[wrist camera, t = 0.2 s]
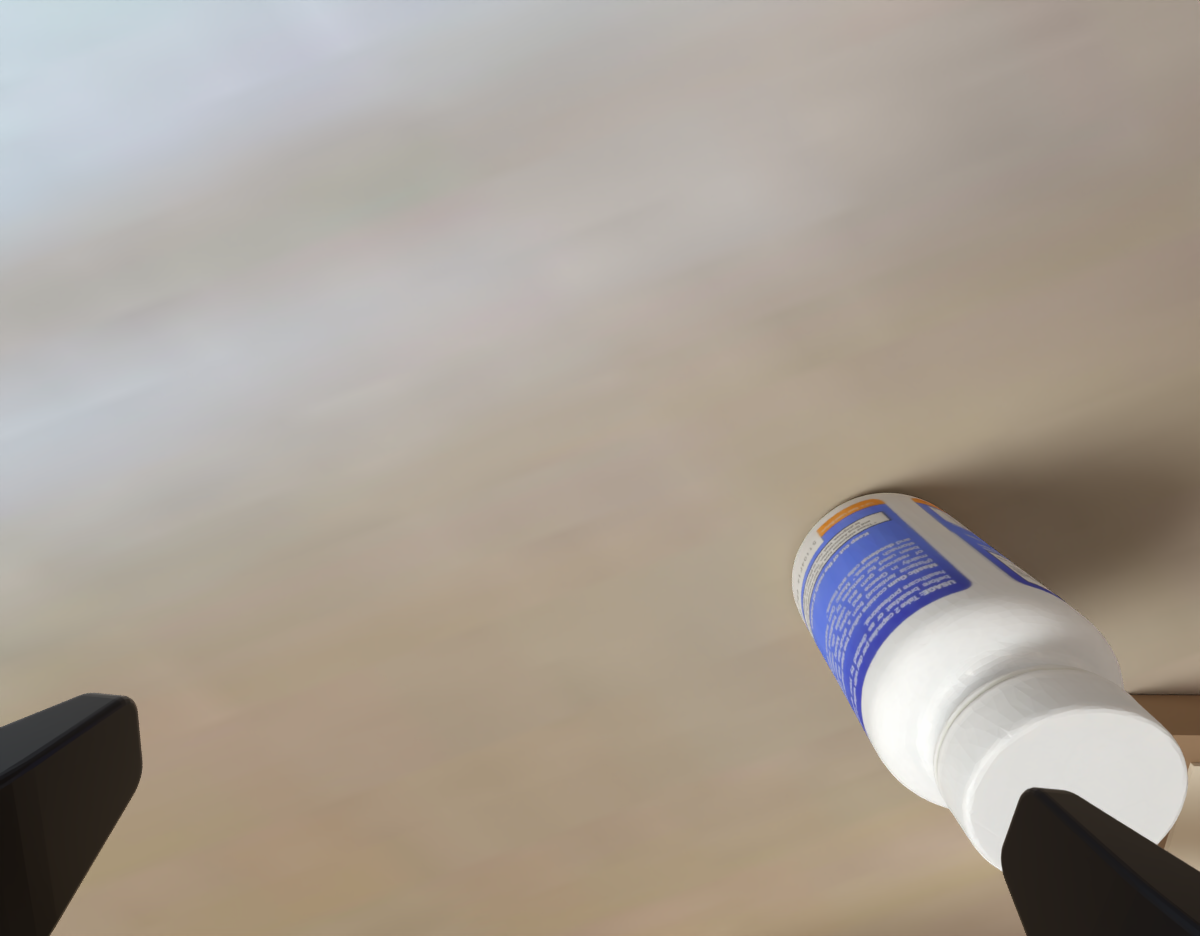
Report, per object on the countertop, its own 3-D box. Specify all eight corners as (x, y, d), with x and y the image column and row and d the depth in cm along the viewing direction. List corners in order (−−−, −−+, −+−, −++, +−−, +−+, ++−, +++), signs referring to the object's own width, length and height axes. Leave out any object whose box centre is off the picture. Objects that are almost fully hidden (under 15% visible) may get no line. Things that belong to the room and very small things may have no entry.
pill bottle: (784, 647, 23) (908, 924, 14) (791, 489, 21) (937, 681, 12) (954, 642, 23) (1196, 917, 13) (974, 483, 21) (1265, 671, 12)
